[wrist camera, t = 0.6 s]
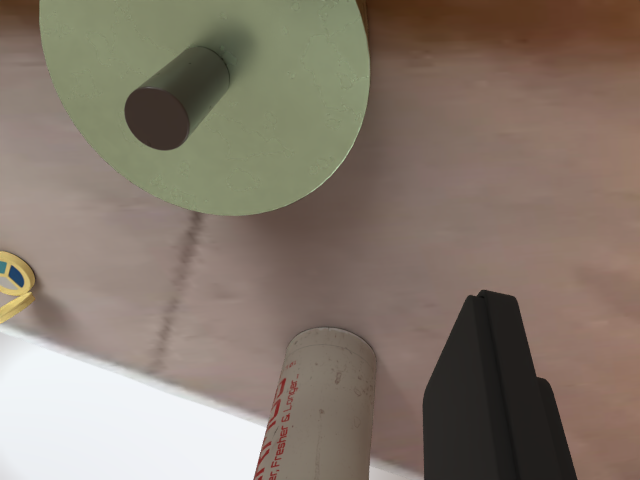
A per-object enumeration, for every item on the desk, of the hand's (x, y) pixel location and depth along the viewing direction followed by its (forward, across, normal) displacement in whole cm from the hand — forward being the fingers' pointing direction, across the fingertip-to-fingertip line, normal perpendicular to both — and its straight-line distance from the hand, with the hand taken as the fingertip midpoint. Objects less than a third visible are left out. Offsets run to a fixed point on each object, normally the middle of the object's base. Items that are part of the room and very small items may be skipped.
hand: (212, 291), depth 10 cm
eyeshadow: (+24, +24, +26) cm, 43 cm away
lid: (+17, +6, +2) cm, 18 cm away
